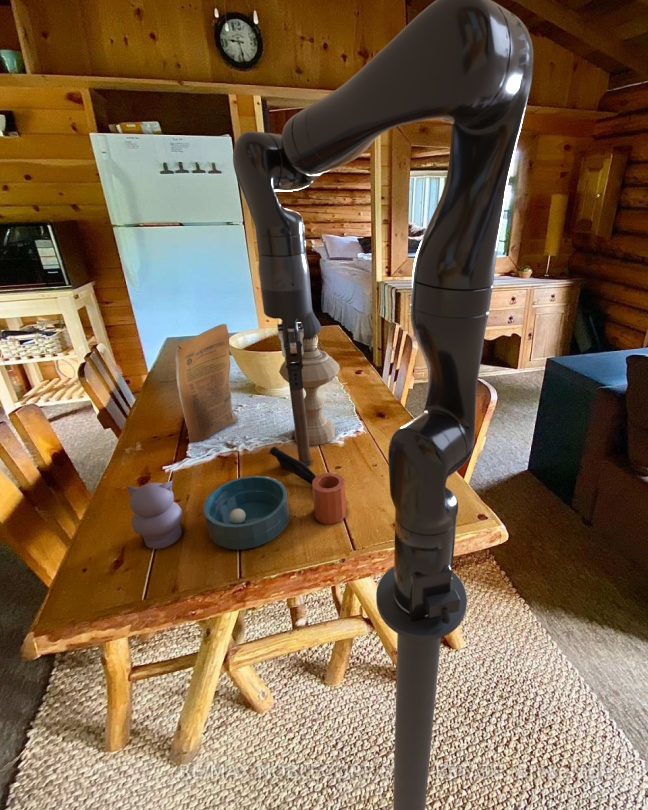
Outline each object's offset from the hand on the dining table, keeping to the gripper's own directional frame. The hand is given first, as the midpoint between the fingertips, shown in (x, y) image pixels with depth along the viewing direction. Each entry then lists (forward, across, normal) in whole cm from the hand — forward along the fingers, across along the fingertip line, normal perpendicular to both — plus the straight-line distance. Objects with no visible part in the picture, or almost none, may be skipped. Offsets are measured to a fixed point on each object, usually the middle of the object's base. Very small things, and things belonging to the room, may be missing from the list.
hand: (296, 385), depth 76 cm
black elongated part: (+30, +15, -3) cm, 34 cm away
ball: (+28, +2, +14) cm, 31 cm away
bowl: (+30, +2, +12) cm, 32 cm away
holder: (+30, +1, -4) cm, 30 cm away
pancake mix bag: (+30, +43, +21) cm, 57 cm away
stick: (+15, 0, 0) cm, 15 cm away
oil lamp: (+30, +34, -5) cm, 45 cm away
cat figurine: (+30, +2, +28) cm, 41 cm away
